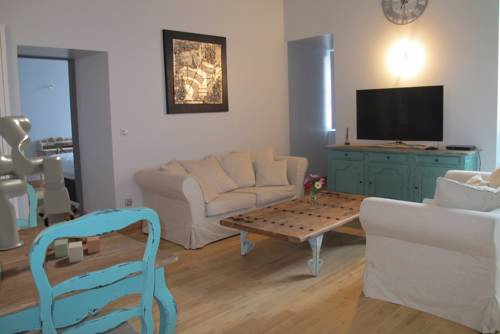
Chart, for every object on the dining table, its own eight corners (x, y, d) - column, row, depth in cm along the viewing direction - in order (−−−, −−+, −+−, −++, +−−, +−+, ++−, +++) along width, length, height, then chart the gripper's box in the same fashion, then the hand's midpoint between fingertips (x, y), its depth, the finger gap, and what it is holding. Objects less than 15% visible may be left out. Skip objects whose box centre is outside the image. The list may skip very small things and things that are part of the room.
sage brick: (57, 253, 197) (55, 240, 197) (69, 251, 199) (67, 238, 198) (55, 259, 190) (54, 245, 189) (68, 257, 192) (66, 243, 191)
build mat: (68, 258, 190) (67, 256, 190) (86, 255, 193) (86, 254, 192) (67, 264, 182) (66, 263, 182) (86, 262, 184) (85, 260, 184)
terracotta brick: (88, 249, 201) (87, 236, 200) (100, 248, 202) (99, 235, 201) (88, 255, 193) (87, 241, 192) (100, 253, 195) (99, 239, 194)
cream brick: (70, 256, 190) (69, 242, 189) (83, 254, 192) (81, 241, 191) (69, 262, 182) (68, 248, 182) (83, 260, 184) (81, 246, 183)
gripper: (31, 189, 184) (37, 230, 186) (76, 184, 189) (81, 224, 192) (33, 187, 191) (38, 226, 193) (77, 182, 197) (81, 220, 199)
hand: (60, 225), depth 192 cm, fingers open, 9 cm apart
